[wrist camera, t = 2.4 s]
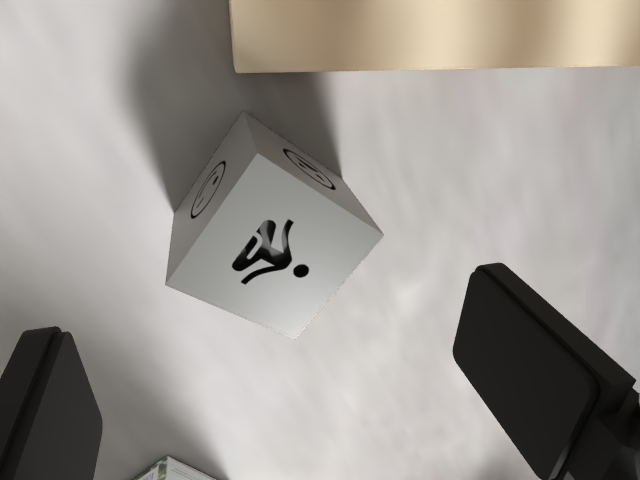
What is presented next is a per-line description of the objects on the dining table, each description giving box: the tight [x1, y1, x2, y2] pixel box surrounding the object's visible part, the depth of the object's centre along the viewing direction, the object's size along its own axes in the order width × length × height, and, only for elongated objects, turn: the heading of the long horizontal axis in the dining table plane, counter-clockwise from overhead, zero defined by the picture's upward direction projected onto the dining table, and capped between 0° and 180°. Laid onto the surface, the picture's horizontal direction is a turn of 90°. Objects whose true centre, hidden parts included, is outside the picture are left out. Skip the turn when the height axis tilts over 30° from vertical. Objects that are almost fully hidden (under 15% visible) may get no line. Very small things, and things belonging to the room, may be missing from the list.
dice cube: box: [165, 111, 384, 340], centre depth 16 cm, size 5×5×5 cm
